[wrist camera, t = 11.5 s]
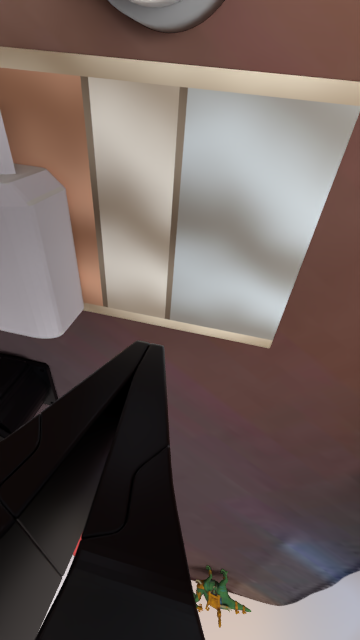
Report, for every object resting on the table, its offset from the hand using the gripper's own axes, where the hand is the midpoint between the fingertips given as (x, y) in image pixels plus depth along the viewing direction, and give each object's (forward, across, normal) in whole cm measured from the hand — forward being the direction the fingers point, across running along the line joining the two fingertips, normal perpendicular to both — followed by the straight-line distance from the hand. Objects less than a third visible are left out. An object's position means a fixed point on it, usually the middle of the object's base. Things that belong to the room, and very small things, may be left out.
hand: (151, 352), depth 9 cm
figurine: (+11, -12, +70) cm, 72 cm away
